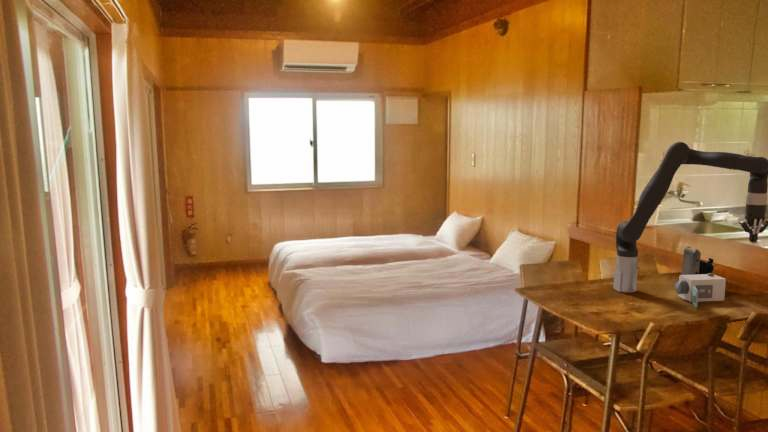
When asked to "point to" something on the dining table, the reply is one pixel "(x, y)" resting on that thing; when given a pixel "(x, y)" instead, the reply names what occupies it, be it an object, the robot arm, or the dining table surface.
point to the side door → (694, 296)
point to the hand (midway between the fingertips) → (753, 242)
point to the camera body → (701, 287)
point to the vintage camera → (695, 263)
